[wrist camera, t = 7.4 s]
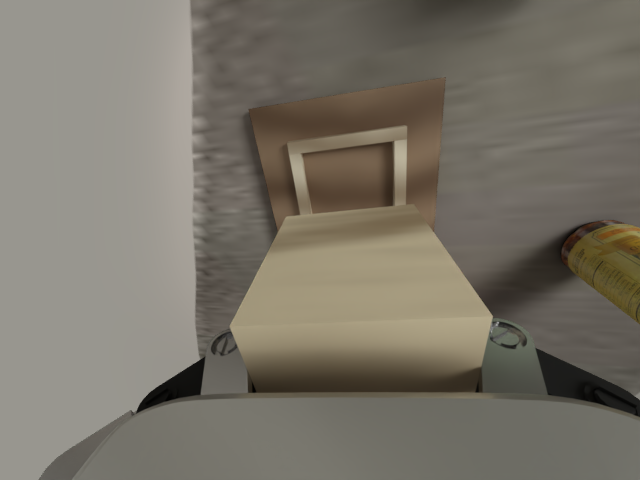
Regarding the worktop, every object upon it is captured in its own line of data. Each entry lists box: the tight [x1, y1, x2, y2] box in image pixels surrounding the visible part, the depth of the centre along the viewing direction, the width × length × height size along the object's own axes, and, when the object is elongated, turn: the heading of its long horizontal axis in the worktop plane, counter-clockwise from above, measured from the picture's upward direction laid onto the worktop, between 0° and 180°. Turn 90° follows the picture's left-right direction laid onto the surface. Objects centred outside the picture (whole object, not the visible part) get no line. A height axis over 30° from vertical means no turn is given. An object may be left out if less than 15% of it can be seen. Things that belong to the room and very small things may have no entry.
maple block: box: [230, 204, 493, 393], centre depth 10 cm, size 6×6×7 cm
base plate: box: [248, 77, 446, 232], centre depth 25 cm, size 16×16×2 cm
